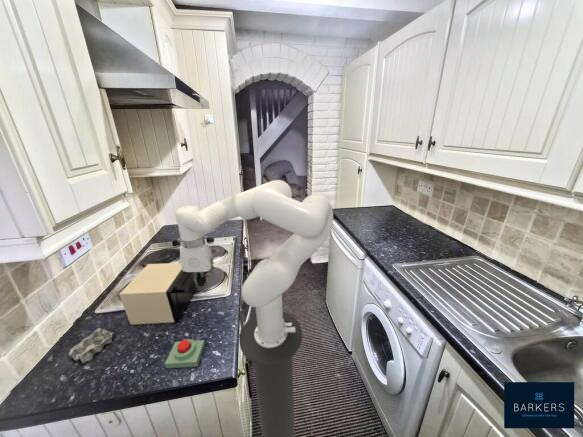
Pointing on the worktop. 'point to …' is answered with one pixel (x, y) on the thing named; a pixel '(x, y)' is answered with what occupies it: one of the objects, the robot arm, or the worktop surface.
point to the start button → (184, 346)
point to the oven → (150, 294)
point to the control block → (185, 355)
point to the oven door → (180, 293)
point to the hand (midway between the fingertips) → (202, 283)
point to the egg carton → (91, 345)
